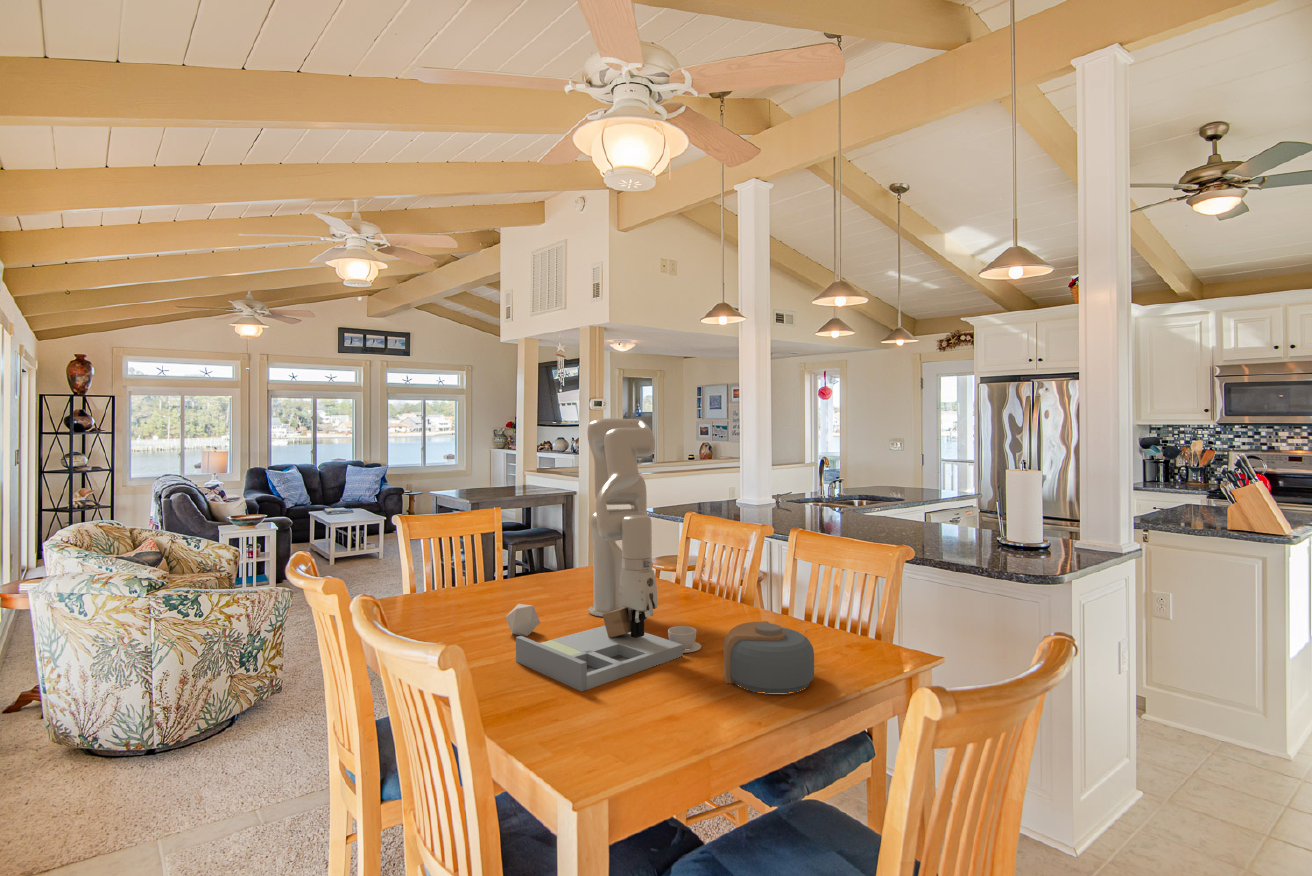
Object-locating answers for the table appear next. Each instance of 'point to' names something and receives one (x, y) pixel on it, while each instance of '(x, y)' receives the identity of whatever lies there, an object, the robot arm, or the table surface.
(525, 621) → the die
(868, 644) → the table surface
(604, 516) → the robot arm
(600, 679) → the board
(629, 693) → the table surface
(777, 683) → the grey knobbed dome
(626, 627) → the walnut block
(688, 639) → the teacup
